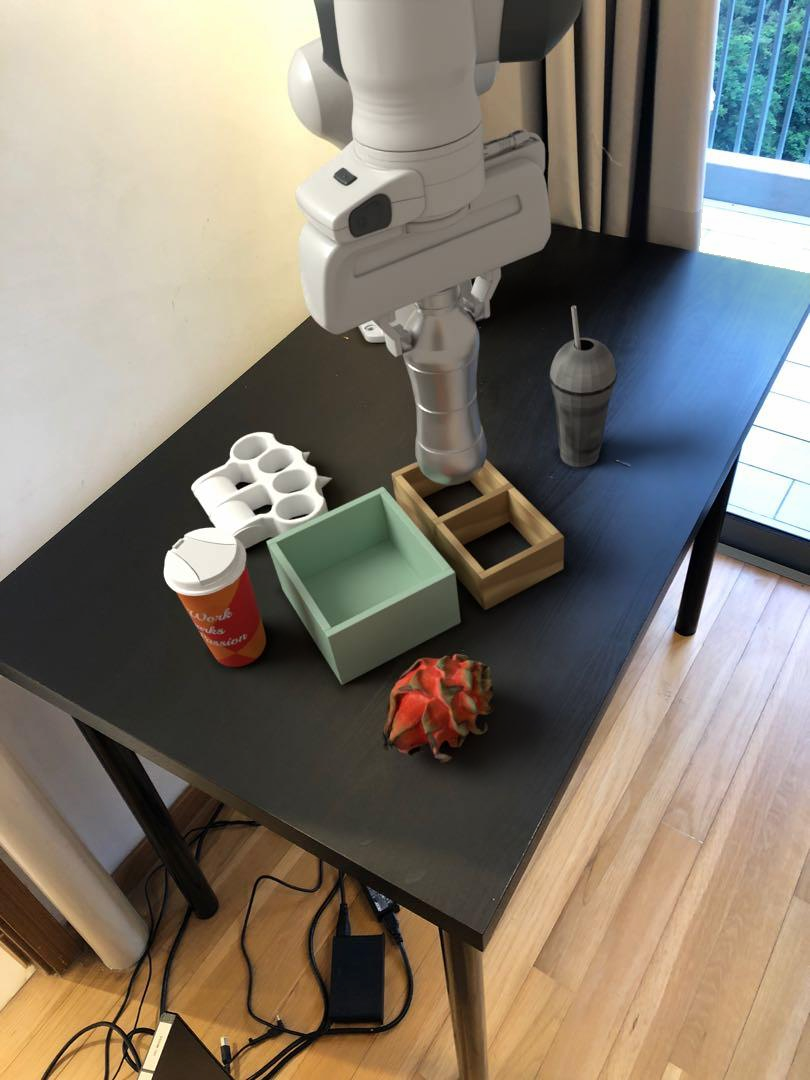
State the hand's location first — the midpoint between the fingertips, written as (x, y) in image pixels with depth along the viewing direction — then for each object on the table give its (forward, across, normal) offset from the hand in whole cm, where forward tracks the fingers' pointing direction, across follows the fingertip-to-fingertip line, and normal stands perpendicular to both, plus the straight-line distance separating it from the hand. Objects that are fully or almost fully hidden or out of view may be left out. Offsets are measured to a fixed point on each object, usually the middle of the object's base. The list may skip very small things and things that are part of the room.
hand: (438, 334), depth 71 cm
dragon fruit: (+30, +12, +15) cm, 36 cm away
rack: (+30, -4, -4) cm, 30 cm away
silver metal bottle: (+15, 0, 0) cm, 15 cm away
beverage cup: (+30, -21, -8) cm, 38 cm away
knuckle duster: (+30, +13, -23) cm, 40 cm away
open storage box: (+30, +10, -2) cm, 32 cm away
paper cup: (+30, +24, -5) cm, 39 cm away
